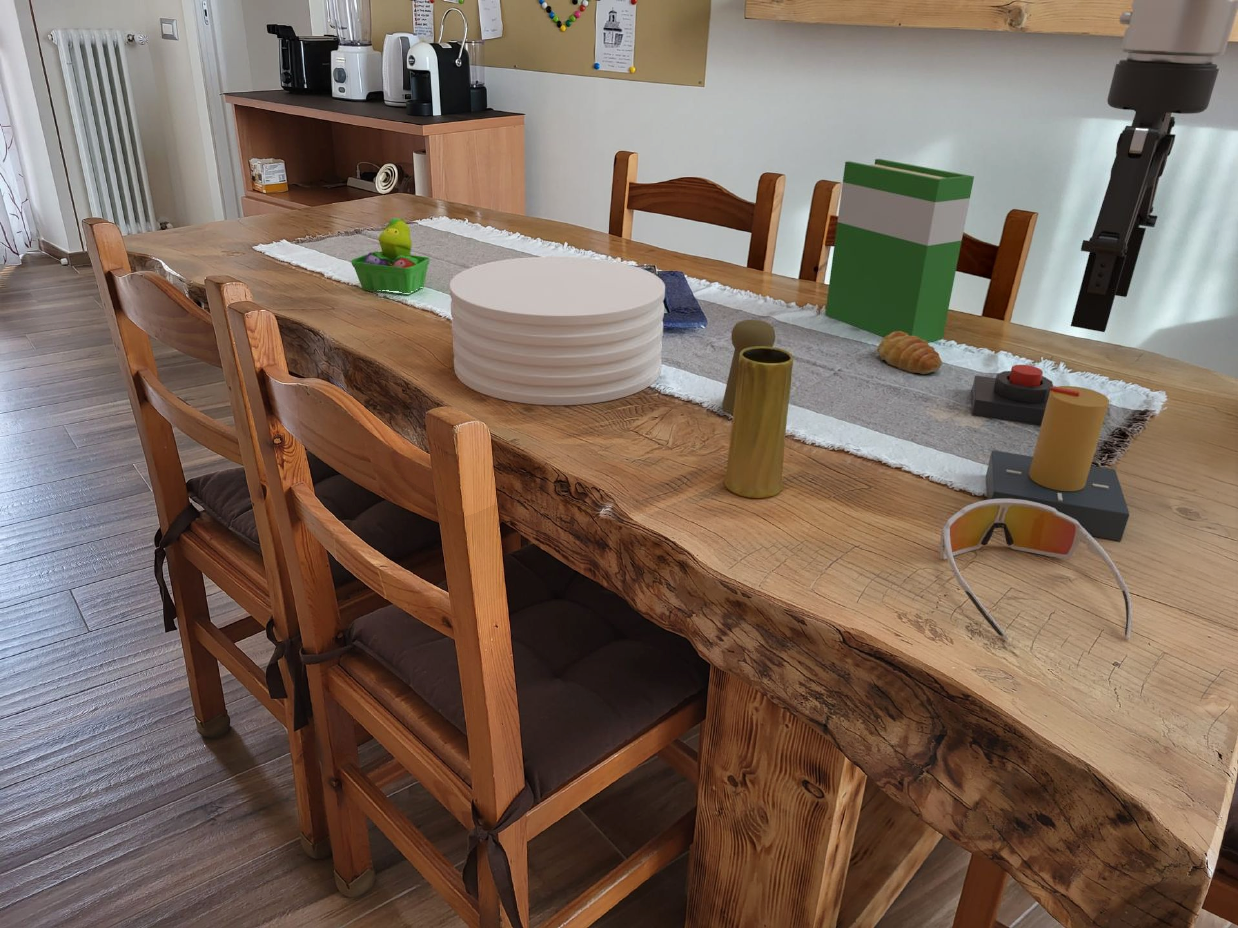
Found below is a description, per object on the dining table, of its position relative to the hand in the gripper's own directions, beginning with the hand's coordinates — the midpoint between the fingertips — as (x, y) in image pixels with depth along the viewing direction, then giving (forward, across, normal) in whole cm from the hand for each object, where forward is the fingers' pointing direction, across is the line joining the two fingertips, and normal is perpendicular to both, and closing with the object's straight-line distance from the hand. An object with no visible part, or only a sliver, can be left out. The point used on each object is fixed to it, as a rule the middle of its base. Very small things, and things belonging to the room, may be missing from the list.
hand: (1100, 310), depth 84 cm
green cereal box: (+20, -46, -34) cm, 60 cm away
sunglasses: (+20, +18, +2) cm, 27 cm away
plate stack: (+20, -1, -63) cm, 66 cm away
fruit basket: (+20, -14, -108) cm, 110 cm away
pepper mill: (+20, -3, -36) cm, 41 cm away
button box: (+20, -24, -8) cm, 32 cm away
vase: (+20, +15, -26) cm, 36 cm away
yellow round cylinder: (+17, +1, 0) cm, 17 cm away
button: (+17, -24, -8) cm, 30 cm away
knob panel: (+20, +1, 0) cm, 20 cm away
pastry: (+20, -32, -25) cm, 45 cm away
